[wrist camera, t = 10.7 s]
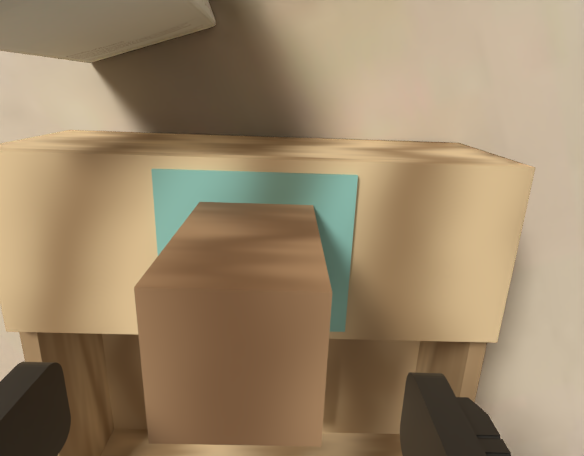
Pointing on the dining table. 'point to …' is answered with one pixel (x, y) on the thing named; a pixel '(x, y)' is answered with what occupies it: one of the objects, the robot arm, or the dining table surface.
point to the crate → (264, 190)
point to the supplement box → (96, 26)
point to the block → (236, 328)
